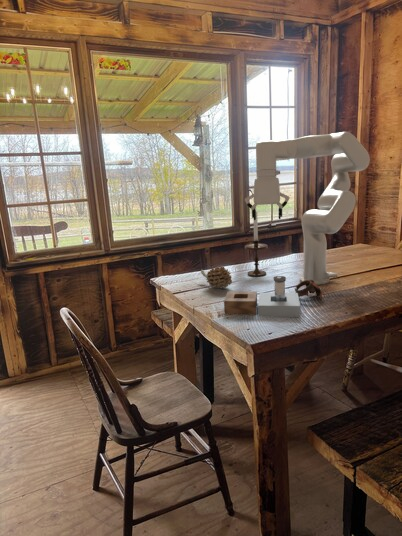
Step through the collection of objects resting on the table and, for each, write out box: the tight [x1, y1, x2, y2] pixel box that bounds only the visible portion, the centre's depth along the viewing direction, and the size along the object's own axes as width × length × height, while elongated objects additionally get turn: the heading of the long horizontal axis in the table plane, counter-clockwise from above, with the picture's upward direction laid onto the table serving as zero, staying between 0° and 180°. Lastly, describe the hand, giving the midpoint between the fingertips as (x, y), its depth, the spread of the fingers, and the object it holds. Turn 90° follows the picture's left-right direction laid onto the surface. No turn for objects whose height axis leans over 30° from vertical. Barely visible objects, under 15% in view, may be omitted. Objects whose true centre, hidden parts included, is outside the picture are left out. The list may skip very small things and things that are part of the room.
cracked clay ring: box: [294, 280, 323, 301], centre depth 143 cm, size 12×10×8 cm
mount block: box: [223, 290, 258, 316], centre depth 135 cm, size 11×11×5 cm
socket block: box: [257, 292, 301, 318], centre depth 132 cm, size 14×14×4 cm
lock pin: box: [273, 275, 287, 302], centre depth 131 cm, size 4×4×12 cm
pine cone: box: [200, 266, 233, 289], centre depth 164 cm, size 22×10×10 cm, turn 38°
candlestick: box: [244, 206, 268, 278], centre depth 176 cm, size 11×11×35 cm
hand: (267, 219), depth 145 cm, fingers open, 9 cm apart
